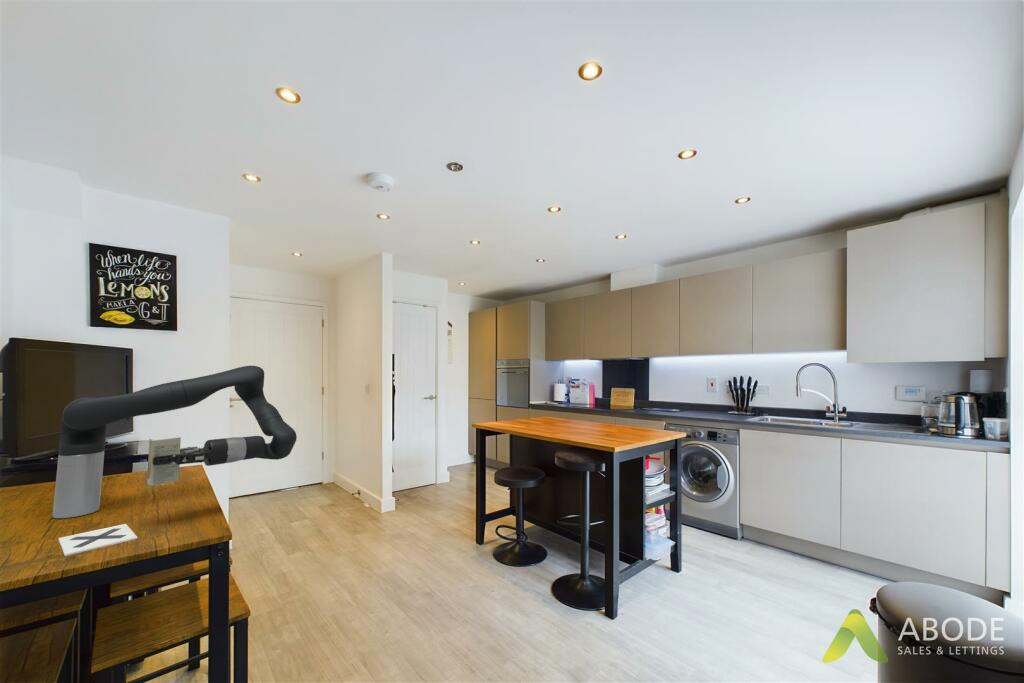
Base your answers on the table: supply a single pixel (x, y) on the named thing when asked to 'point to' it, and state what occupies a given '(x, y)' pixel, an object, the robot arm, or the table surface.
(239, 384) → the robot arm
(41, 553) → the table surface
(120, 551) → the table surface
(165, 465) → the skincare box
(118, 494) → the table surface
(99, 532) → the letter card
